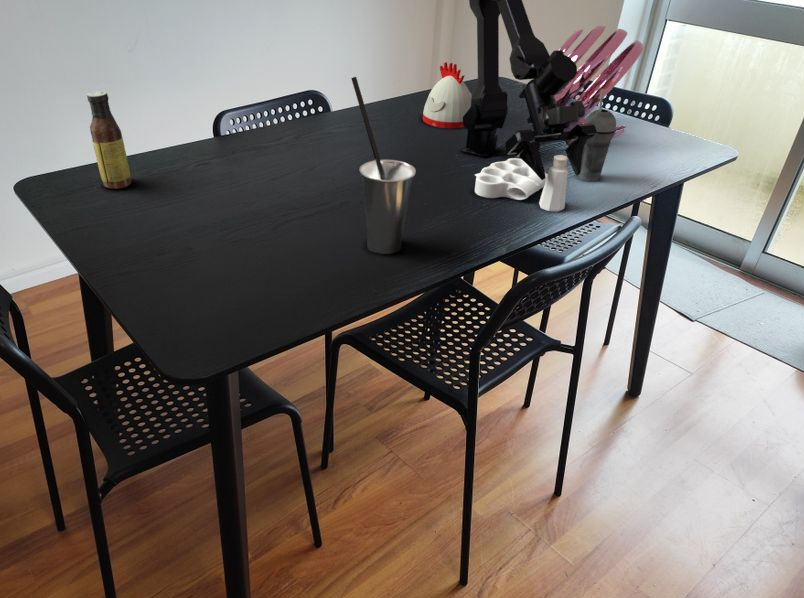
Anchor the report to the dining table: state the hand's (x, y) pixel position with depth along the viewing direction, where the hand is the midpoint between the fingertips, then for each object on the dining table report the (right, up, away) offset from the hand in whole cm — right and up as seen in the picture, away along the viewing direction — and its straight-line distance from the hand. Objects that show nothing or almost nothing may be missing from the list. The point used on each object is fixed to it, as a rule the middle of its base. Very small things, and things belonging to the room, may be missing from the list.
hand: (561, 177), depth 146 cm
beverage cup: (+12, +4, +19) cm, 23 cm away
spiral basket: (+17, +22, +43) cm, 52 cm away
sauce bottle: (-95, +1, +11) cm, 96 cm away
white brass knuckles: (-8, +1, +14) cm, 16 cm away
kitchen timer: (-17, +28, +51) cm, 60 cm away
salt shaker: (-1, -5, +5) cm, 7 cm away
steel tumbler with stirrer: (-38, -16, -10) cm, 42 cm away
